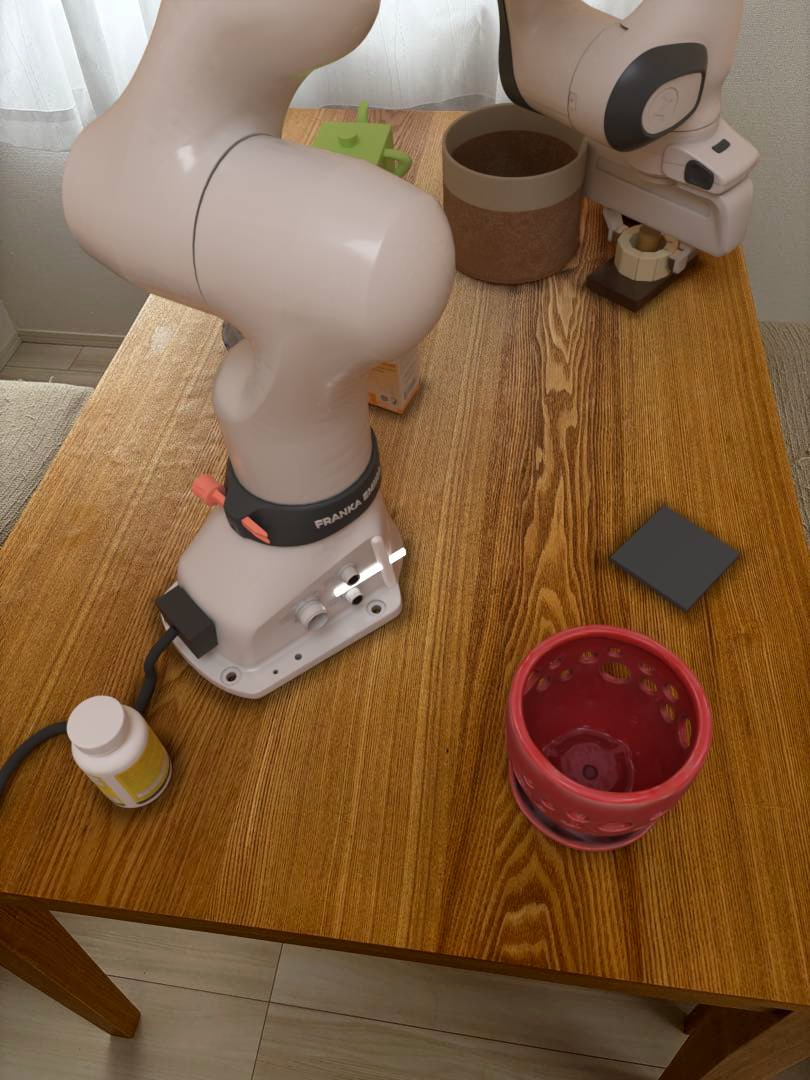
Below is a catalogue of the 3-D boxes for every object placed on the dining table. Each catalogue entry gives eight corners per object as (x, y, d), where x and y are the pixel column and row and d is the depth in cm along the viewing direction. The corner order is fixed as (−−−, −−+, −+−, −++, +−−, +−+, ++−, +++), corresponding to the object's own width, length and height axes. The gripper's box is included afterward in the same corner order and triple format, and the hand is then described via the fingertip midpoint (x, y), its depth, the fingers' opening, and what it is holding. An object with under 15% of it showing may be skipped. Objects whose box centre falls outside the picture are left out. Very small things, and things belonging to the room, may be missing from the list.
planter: (427, 277, 103) (423, 168, 92) (464, 203, 111) (464, 95, 100) (560, 298, 99) (572, 187, 88) (587, 219, 108) (601, 109, 97)
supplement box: (332, 396, 92) (314, 294, 81) (353, 367, 94) (339, 264, 83) (402, 417, 89) (393, 315, 79) (422, 387, 92) (416, 284, 81)
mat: (685, 613, 73) (687, 609, 73) (609, 560, 77) (610, 556, 77) (738, 557, 76) (740, 553, 76) (662, 509, 80) (663, 504, 80)
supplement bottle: (177, 740, 69) (140, 683, 61) (168, 807, 66) (128, 756, 58) (110, 744, 69) (64, 688, 61) (98, 811, 66) (48, 761, 58)
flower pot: (663, 890, 60) (700, 834, 51) (480, 832, 63) (483, 769, 54) (689, 724, 67) (726, 647, 58) (524, 679, 71) (534, 599, 61)
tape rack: (635, 313, 97) (644, 267, 92) (585, 287, 100) (591, 241, 95) (697, 263, 101) (708, 217, 97) (647, 240, 105) (656, 194, 100)
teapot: (371, 168, 117) (364, 89, 109) (434, 210, 111) (432, 129, 102) (277, 213, 112) (262, 134, 104) (338, 260, 106) (327, 178, 97)
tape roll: (650, 289, 97) (655, 266, 94) (603, 265, 100) (606, 242, 97) (684, 262, 99) (689, 239, 97) (636, 240, 102) (640, 217, 100)
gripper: (567, 116, 91) (556, 232, 102) (738, 186, 82) (706, 306, 93) (604, 93, 93) (589, 208, 104) (775, 158, 84) (739, 278, 95)
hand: (645, 255), depth 98 cm, fingers closed on tape roll, 6 cm apart
